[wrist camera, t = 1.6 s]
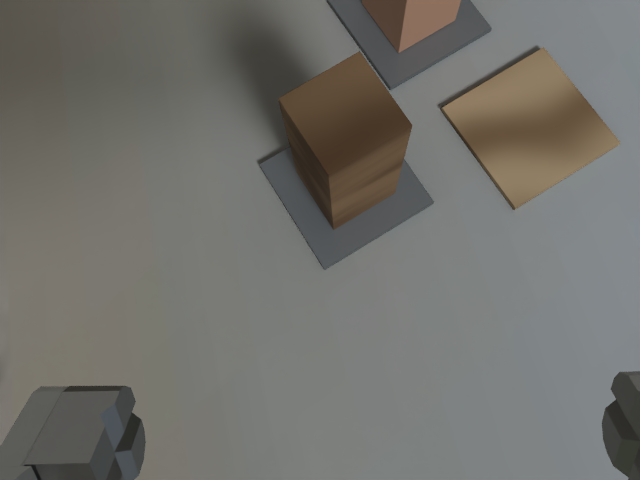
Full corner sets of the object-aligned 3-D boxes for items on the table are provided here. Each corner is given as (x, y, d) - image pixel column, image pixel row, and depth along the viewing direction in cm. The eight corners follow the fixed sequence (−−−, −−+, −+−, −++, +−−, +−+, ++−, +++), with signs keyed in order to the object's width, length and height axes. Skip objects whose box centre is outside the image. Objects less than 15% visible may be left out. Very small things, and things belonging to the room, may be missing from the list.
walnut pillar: (296, 172, 37) (278, 98, 27) (356, 136, 37) (359, 51, 28) (333, 230, 36) (328, 175, 26) (394, 192, 36) (412, 125, 27)
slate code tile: (260, 166, 38) (259, 164, 37) (364, 105, 38) (364, 101, 38) (324, 269, 36) (324, 268, 35) (433, 203, 37) (434, 201, 36)
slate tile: (327, 1, 40) (326, -4, 40) (423, -54, 41) (424, -59, 40) (390, 90, 38) (390, 86, 38) (490, 31, 39) (492, 27, 39)
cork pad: (441, 110, 38) (441, 107, 38) (541, 50, 39) (543, 47, 38) (513, 210, 36) (515, 208, 36) (617, 145, 37) (620, 142, 36)
